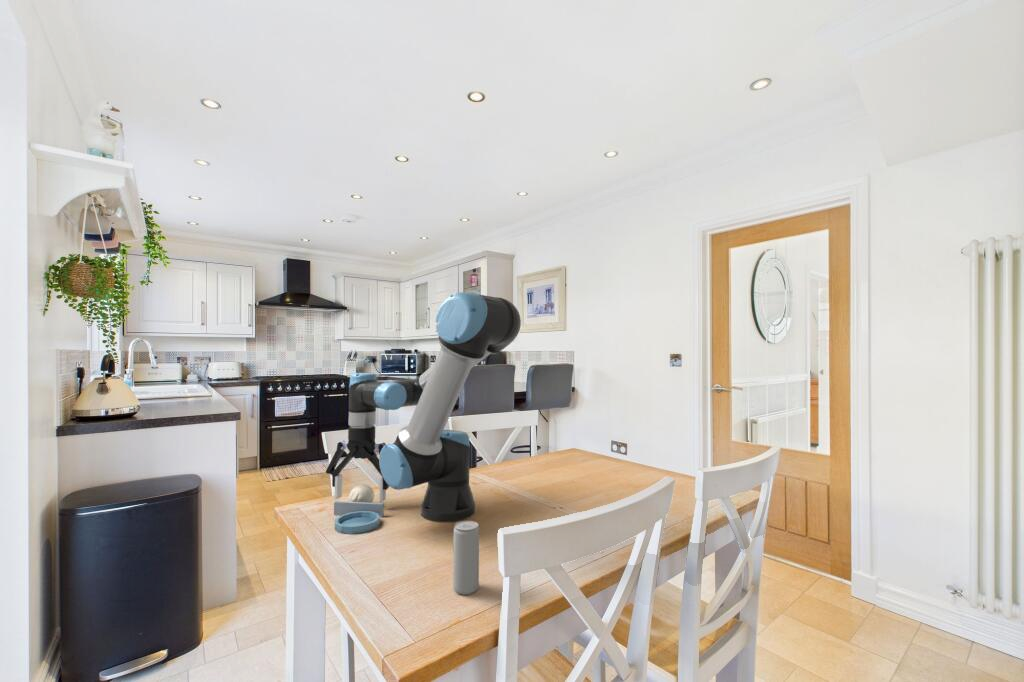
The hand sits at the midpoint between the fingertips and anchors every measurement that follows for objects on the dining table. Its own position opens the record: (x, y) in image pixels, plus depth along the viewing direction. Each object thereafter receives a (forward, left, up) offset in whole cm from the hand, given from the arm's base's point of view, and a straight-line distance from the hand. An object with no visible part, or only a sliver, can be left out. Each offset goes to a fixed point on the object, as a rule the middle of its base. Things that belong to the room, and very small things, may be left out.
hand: (360, 499), depth 129 cm
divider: (-2, +6, -3) cm, 7 cm away
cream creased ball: (0, 0, -3) cm, 3 cm away
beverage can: (-40, +40, -3) cm, 57 cm away
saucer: (-5, +13, -3) cm, 14 cm away
